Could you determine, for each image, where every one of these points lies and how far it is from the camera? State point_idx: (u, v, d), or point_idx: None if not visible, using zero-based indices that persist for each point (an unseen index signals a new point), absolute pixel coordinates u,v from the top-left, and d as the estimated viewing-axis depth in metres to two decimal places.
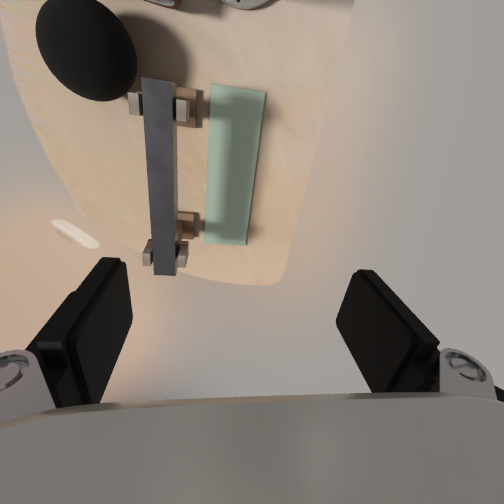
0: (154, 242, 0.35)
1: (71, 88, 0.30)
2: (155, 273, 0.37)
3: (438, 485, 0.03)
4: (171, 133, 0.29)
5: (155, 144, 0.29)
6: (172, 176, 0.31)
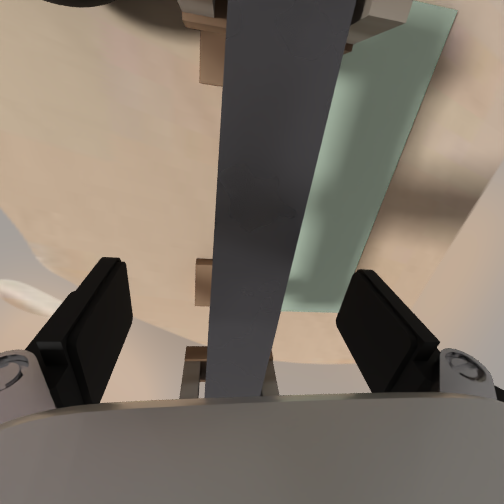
0: (210, 388, 0.13)
1: None
2: None
3: (438, 485, 0.03)
4: (331, 78, 0.07)
5: (258, 125, 0.07)
6: (294, 236, 0.09)
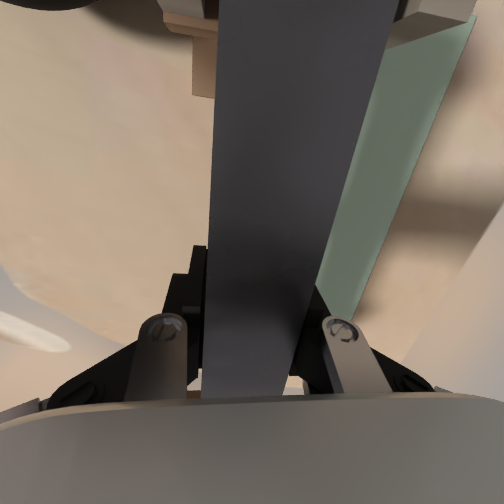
0: None
1: None
2: None
3: (438, 485, 0.03)
4: (362, 97, 0.05)
5: (262, 159, 0.05)
6: (308, 290, 0.07)
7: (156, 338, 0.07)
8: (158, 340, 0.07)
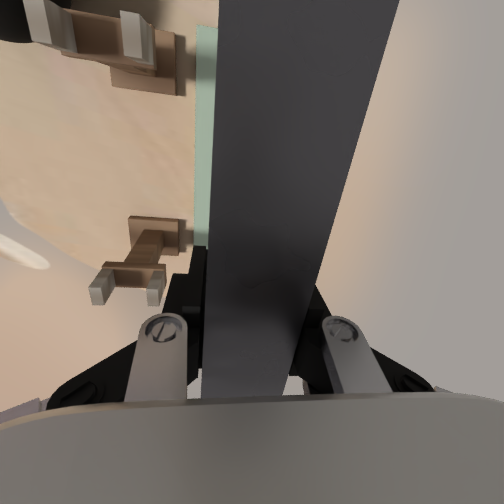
0: None
1: None
2: None
3: (438, 485, 0.03)
4: (362, 100, 0.05)
5: (261, 161, 0.05)
6: (307, 291, 0.07)
7: (156, 338, 0.07)
8: (158, 340, 0.07)
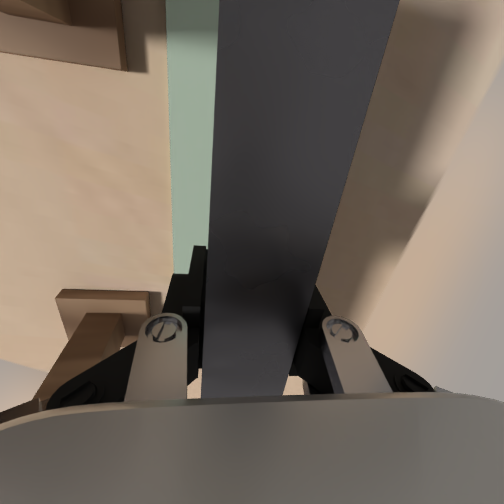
0: None
1: None
2: None
3: (438, 485, 0.03)
4: (361, 101, 0.05)
5: (261, 163, 0.05)
6: (307, 292, 0.07)
7: (156, 338, 0.07)
8: (158, 340, 0.07)
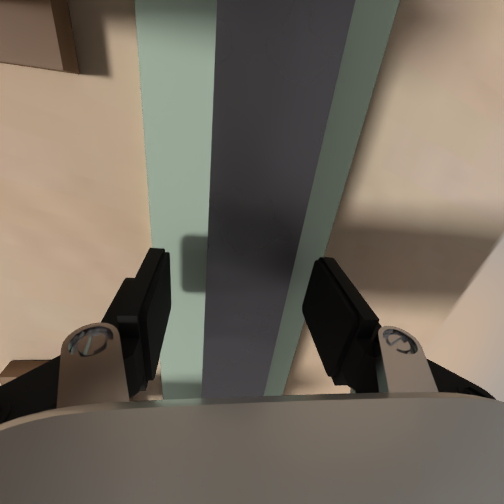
0: None
1: None
2: None
3: (438, 485, 0.03)
4: (326, 101, 0.07)
5: (250, 149, 0.07)
6: (291, 259, 0.09)
7: (84, 353, 0.06)
8: (87, 354, 0.06)
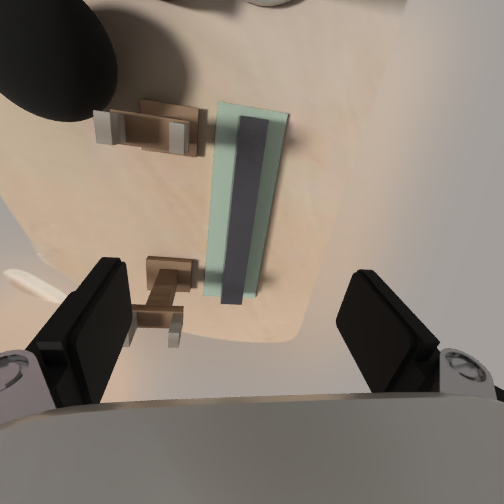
0: (226, 271, 0.34)
1: (17, 103, 0.21)
2: (222, 302, 0.37)
3: (438, 485, 0.03)
4: (260, 167, 0.29)
5: (243, 178, 0.29)
6: (254, 208, 0.31)
7: None
8: None
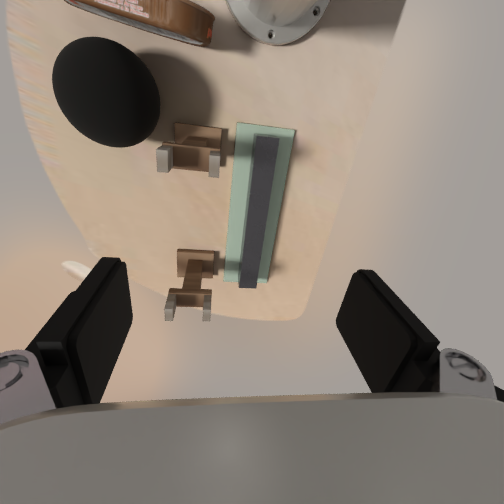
0: (243, 261, 0.42)
1: (90, 137, 0.27)
2: (240, 286, 0.44)
3: (438, 485, 0.03)
4: (272, 176, 0.35)
5: (258, 185, 0.36)
6: (267, 209, 0.38)
7: None
8: None
